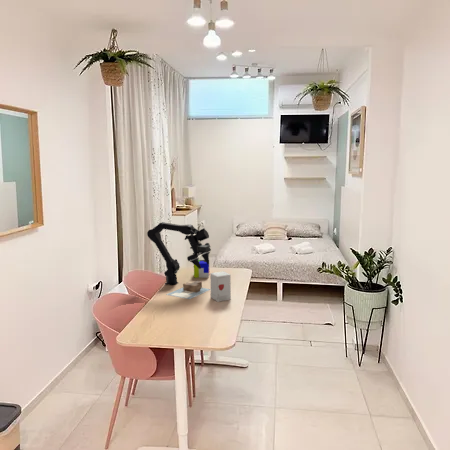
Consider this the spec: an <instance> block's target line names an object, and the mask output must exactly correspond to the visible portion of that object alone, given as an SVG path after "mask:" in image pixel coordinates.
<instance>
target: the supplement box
mask: <svg viewBox="0 0 450 450" xmlns="http://www.w3.org/2000/svg"><path fill="white" fill-rule="evenodd" d="M209 278H210V279H209V280H210V289H211V290H210V299H212V300H214V301H216V302H217V303H219V302H223V301H224V302H225V301H228V300H231V299H232V297H231V296H232V295H231V294H232V293H231V291H232V290H231V288H232V287H231V283H232V282H231V273H228V272H226V271H217V272H209Z"/></svg>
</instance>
